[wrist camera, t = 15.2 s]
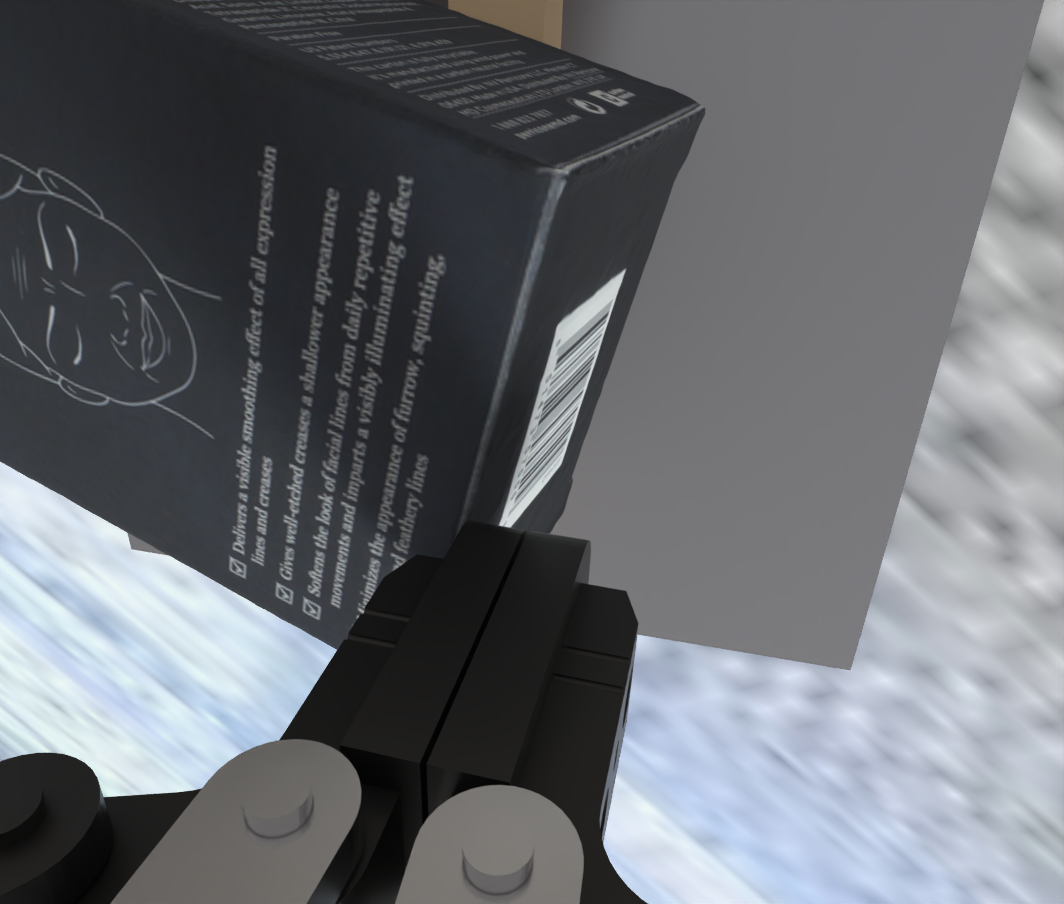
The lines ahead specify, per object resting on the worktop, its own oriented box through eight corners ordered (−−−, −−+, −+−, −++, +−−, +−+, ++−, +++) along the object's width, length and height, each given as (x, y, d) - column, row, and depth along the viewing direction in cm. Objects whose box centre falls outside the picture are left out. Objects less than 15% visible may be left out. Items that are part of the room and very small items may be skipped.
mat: (1098, -217, 12) (1152, -246, 10) (848, 658, 20) (857, 719, 18) (-38, -219, 15) (-133, -242, 13) (140, 540, 23) (94, 584, 21)
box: (719, 102, 12) (134, -115, 14) (578, 177, 8) (-245, -156, 10) (567, 515, 17) (135, 301, 19) (420, 715, 12) (-126, 404, 14)
